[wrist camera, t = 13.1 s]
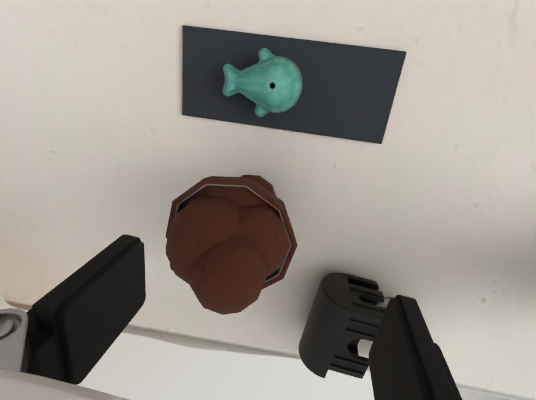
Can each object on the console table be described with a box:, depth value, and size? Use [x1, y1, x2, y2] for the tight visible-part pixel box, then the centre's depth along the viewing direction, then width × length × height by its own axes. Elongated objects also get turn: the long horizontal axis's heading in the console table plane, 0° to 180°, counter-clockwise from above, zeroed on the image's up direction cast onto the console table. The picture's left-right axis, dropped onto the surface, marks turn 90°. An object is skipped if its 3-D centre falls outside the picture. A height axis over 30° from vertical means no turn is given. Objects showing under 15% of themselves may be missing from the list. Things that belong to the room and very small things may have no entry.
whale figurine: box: [222, 48, 302, 117], centre depth 27 cm, size 6×7×4 cm
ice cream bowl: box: [166, 175, 297, 314], centre depth 26 cm, size 11×11×15 cm
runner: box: [182, 25, 406, 144], centre depth 28 cm, size 20×8×1 cm, turn 83°
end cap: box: [299, 273, 386, 379], centre depth 34 cm, size 10×7×7 cm
